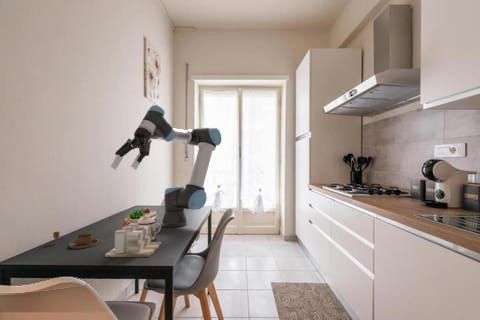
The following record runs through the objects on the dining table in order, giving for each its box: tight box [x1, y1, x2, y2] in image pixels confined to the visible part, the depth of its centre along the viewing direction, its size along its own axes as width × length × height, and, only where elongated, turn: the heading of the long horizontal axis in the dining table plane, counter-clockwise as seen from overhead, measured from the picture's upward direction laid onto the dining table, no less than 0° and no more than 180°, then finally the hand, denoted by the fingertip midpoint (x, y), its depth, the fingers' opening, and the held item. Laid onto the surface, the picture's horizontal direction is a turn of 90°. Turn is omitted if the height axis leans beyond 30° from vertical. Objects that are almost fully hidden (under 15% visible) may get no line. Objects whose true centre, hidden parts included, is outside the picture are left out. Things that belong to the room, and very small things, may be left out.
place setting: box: [52, 231, 103, 250], centre depth 131 cm, size 18×20×6 cm
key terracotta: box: [120, 225, 133, 234], centre depth 121 cm, size 3×4×9 cm
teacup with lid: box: [136, 215, 162, 242], centre depth 139 cm, size 12×9×12 cm
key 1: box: [114, 229, 127, 253], centre depth 114 cm, size 3×4×9 cm
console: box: [104, 225, 162, 258], centre depth 121 cm, size 17×18×10 cm
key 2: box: [127, 222, 139, 231], centre depth 127 cm, size 3×4×9 cm
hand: (123, 168), depth 123 cm, fingers open, 13 cm apart
